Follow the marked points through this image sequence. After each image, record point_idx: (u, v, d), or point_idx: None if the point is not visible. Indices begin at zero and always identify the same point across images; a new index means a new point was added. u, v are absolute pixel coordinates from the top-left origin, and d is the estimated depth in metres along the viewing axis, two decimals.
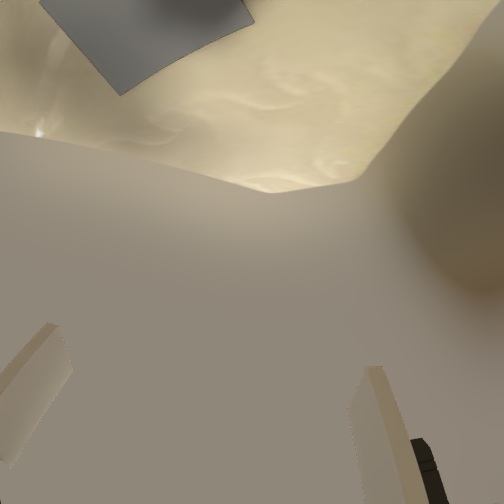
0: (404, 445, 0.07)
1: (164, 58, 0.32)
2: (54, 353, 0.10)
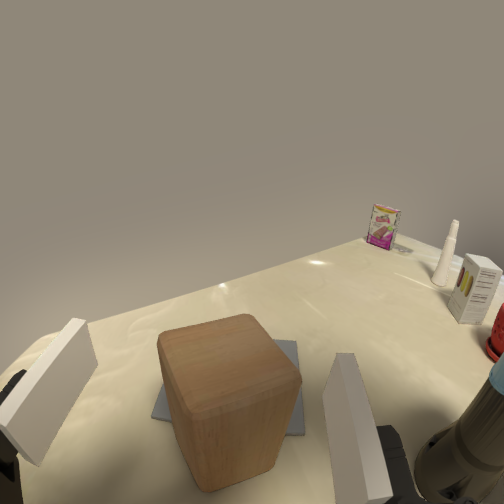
0: (369, 430, 0.08)
1: None
2: (81, 348, 0.11)
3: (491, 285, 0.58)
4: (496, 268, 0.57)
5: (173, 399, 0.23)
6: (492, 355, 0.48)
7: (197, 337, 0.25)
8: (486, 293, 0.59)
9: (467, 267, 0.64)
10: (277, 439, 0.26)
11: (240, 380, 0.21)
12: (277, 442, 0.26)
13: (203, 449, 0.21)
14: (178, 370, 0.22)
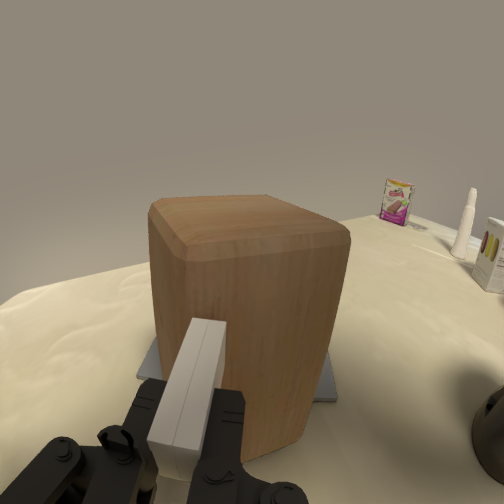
0: (204, 386, 0.09)
1: None
2: None
3: None
4: None
5: (161, 281, 0.17)
6: None
7: (202, 200, 0.19)
8: None
9: (491, 231, 0.56)
10: (314, 370, 0.19)
11: (264, 221, 0.15)
12: (313, 377, 0.19)
13: None
14: (173, 215, 0.16)
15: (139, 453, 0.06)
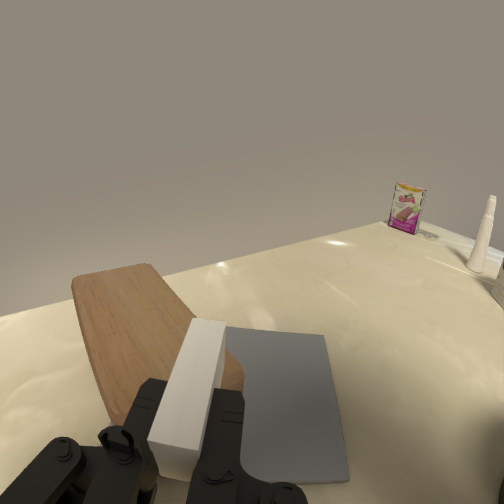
0: (203, 386, 0.09)
1: None
2: None
3: None
4: None
5: None
6: None
7: None
8: None
9: None
10: (171, 301, 0.26)
11: None
12: (176, 305, 0.25)
13: (82, 299, 0.24)
14: None
15: (140, 453, 0.06)
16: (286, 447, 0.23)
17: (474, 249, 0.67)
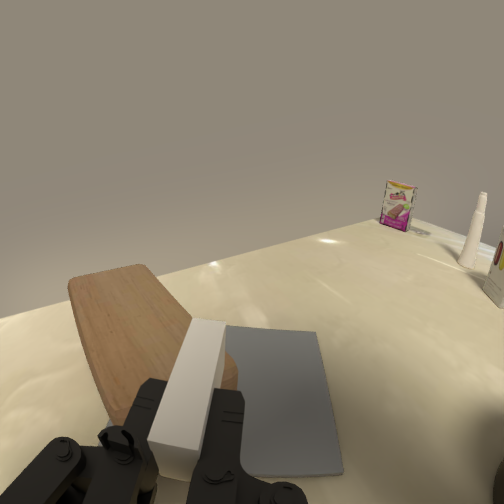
0: (203, 386, 0.09)
1: None
2: None
3: None
4: None
5: None
6: None
7: None
8: None
9: None
10: (166, 301, 0.27)
11: None
12: (170, 304, 0.26)
13: (79, 300, 0.25)
14: None
15: (140, 453, 0.06)
16: (281, 442, 0.23)
17: (465, 245, 0.69)
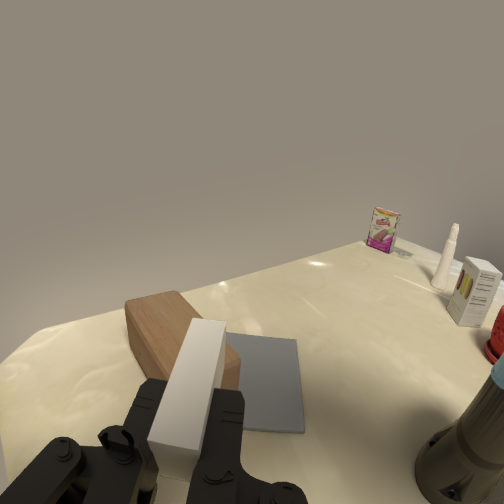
0: (203, 386, 0.09)
1: None
2: None
3: (491, 288, 0.59)
4: (496, 271, 0.58)
5: (132, 335, 0.44)
6: (491, 357, 0.48)
7: None
8: (485, 296, 0.60)
9: (467, 270, 0.64)
10: None
11: None
12: None
13: (138, 317, 0.41)
14: None
15: (140, 453, 0.06)
16: (266, 409, 0.39)
17: (437, 269, 0.85)
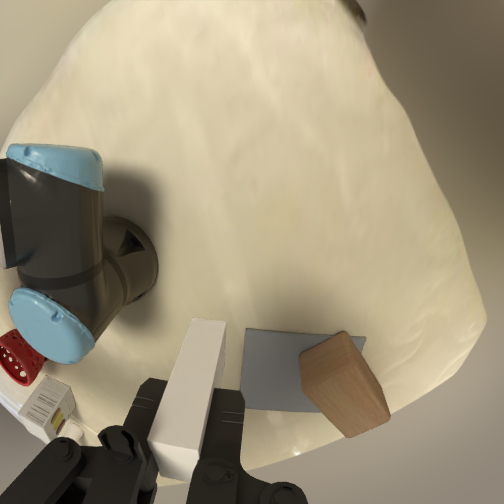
0: (203, 386, 0.09)
1: None
2: None
3: (32, 406, 0.53)
4: (24, 418, 0.49)
5: (382, 395, 0.49)
6: None
7: None
8: (38, 401, 0.55)
9: (53, 432, 0.53)
10: (333, 418, 0.46)
11: None
12: (331, 416, 0.45)
13: (379, 409, 0.45)
14: None
15: (140, 453, 0.06)
16: (274, 349, 0.52)
17: None
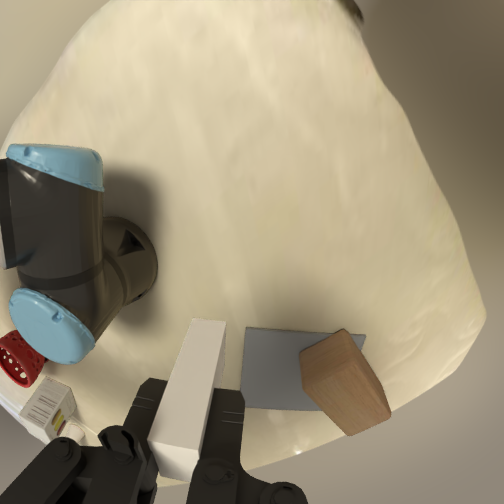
0: (203, 386, 0.09)
1: None
2: None
3: (32, 407, 0.53)
4: (25, 420, 0.49)
5: (382, 392, 0.49)
6: None
7: None
8: (39, 403, 0.55)
9: (54, 433, 0.53)
10: (334, 416, 0.46)
11: None
12: (332, 414, 0.46)
13: (380, 407, 0.45)
14: None
15: (140, 453, 0.06)
16: (275, 347, 0.52)
17: None
